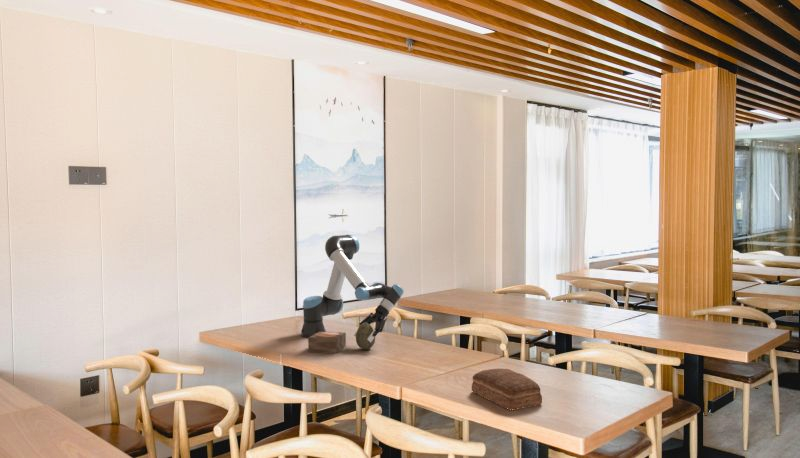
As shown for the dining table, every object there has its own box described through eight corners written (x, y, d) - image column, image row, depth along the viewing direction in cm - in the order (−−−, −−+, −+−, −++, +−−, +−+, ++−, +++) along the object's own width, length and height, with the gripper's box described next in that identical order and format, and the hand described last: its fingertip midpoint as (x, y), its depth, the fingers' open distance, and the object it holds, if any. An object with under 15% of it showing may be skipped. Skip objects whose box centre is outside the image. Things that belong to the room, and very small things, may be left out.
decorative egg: (352, 349, 353) (351, 322, 353) (367, 346, 361) (366, 319, 360) (364, 352, 345) (363, 325, 345) (379, 349, 353) (379, 322, 352)
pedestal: (319, 345, 364) (318, 330, 364) (345, 346, 360) (345, 332, 360) (308, 352, 349) (308, 337, 348) (336, 353, 345) (335, 338, 344)
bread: (502, 386, 280) (501, 361, 280) (544, 406, 254) (544, 377, 253) (469, 392, 273) (468, 366, 272) (509, 412, 247) (509, 383, 246)
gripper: (401, 315, 351) (378, 346, 343) (375, 309, 371) (354, 339, 363) (393, 307, 348) (370, 338, 340) (368, 301, 368) (346, 331, 360)
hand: (362, 338), depth 351 cm, fingers open, 13 cm apart
